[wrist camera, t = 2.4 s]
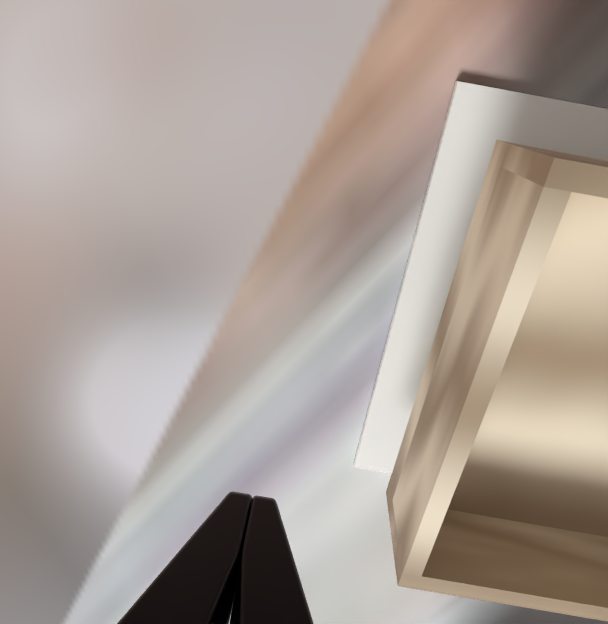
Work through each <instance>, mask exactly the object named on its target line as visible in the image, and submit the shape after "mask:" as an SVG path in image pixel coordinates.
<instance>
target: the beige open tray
mask: <svg viewBox="0 0 608 624" xmlns="http://www.w3.org/2000/svg"><path fill="white" fill-rule="evenodd" d="M386 495H387V503H388V511H389V519H390V527H391V535H392V543H393V551H394V559H395V567H396V575H397V583H398V586H401V587H407V588H413V589H419V590H425V591H430V592H436V593H442V594H448V595H454V596H460V597H466V598H472V599H478V600H484V601H489V602H495V603H501V604H507V605H513V606H519V607H525V608H531V609H537V610H542V611H548V612H554V613H560V614H566V615H572V616H578V617H584V618H590V619H596V620H601V621H607V622H608V160H604V159H598V158H593V157H587V156H582V155H576V154H571V153H565V152H560V151H554V150H549V149H543V148H538V147H533V146H527V145H522V144H516V143H511V142H505V141H500V140H496V143H495V146H494V150H493V153H492V156H491V159H490V162H489V165H488V169H487V172H486V175H485V178H484V181H483V185H482V188H481V191H480V194H479V197H478V201H477V204H476V207H475V210H474V213H473V217H472V220H471V223H470V226H469V229H468V232H467V236H466V239H465V242H464V245H463V248H462V252H461V255H460V258H459V261H458V264H457V268H456V271H455V274H454V277H453V280H452V283H451V287H450V290H449V293H448V296H447V299H446V303H445V306H444V309H443V312H442V315H441V319H440V322H439V325H438V328H437V331H436V334H435V338H434V341H433V344H432V347H431V350H430V354H429V357H428V360H427V363H426V366H425V370H424V373H423V376H422V379H421V382H420V386H419V389H418V392H417V395H416V398H415V401H414V405H413V408H412V411H411V414H410V417H409V421H408V424H407V427H406V430H405V433H404V437H403V440H402V443H401V446H400V449H399V452H398V456H397V459H396V462H395V465H394V468H393V472H392V475H391V478H390V481H389V484H388V488H387V491H386Z"/></svg>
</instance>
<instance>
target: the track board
mask: <svg viewBox="0 0 608 624" xmlns="http://www.w3.org/2000/svg"><path fill="white" fill-rule="evenodd" d="M496 140H500V141H505V142H511V143H516V144H522V145H527V146H533V147H538V148H543V149H549V150H554V151H560V152H565V153H571V154H576V155H582V156H587V157H593V158H598V159H604V160H608V109H606V108H601V107H595V106H590V105H584V104H579V103H573V102H568V101H563V100H557V99H552V98H546V97H541V96H536V95H530V94H525V93H519V92H514V91H508V90H503V89H498V88H492V87H487V86H481V85H476V84H470V83H465V82H460V81H456V82H455V86H454V90H453V93H452V97H451V101H450V105H449V108H448V112H447V116H446V120H445V123H444V127H443V131H442V135H441V138H440V142H439V146H438V149H437V153H436V157H435V161H434V164H433V168H432V172H431V176H430V179H429V183H428V187H427V191H426V194H425V198H424V202H423V205H422V209H421V213H420V217H419V220H418V224H417V228H416V232H415V235H414V239H413V243H412V246H411V250H410V254H409V258H408V261H407V265H406V269H405V273H404V276H403V280H402V284H401V288H400V291H399V295H398V299H397V302H396V306H395V310H394V314H393V317H392V321H391V325H390V329H389V332H388V336H387V340H386V344H385V347H384V351H383V355H382V358H381V362H380V366H379V370H378V373H377V377H376V381H375V385H374V388H373V392H372V396H371V400H370V403H369V407H368V411H367V414H366V418H365V422H364V426H363V429H362V433H361V437H360V441H359V444H358V448H357V452H356V455H355V459H354V467H355V468H361V469H367V470H373V471H378V472H384V473H390V474H392V472H393V468H394V465H395V462H396V459H397V456H398V452H399V449H400V446H401V443H402V440H403V437H404V433H405V430H406V427H407V424H408V421H409V417H410V414H411V411H412V408H413V405H414V401H415V398H416V395H417V392H418V389H419V386H420V382H421V379H422V376H423V373H424V370H425V366H426V363H427V360H428V357H429V354H430V350H431V347H432V344H433V341H434V338H435V334H436V331H437V328H438V325H439V322H440V319H441V315H442V312H443V309H444V306H445V303H446V299H447V296H448V293H449V290H450V287H451V283H452V280H453V277H454V274H455V271H456V268H457V264H458V261H459V258H460V255H461V252H462V248H463V245H464V242H465V239H466V236H467V232H468V229H469V226H470V223H471V220H472V217H473V213H474V210H475V207H476V204H477V201H478V197H479V194H480V191H481V188H482V185H483V181H484V178H485V175H486V172H487V169H488V165H489V162H490V159H491V156H492V153H493V150H494V146H495V143H496Z"/></svg>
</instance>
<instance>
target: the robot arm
mask: <svg viewBox="0 0 608 624" xmlns="http://www.w3.org/2000/svg"><path fill="white" fill-rule="evenodd" d="M231 611H232V612H231ZM230 615H231V618H230ZM229 620H230V624H313V620H312V617H311V614H310V611H309V607H308V604H307V601H306V598H305V594H304V591H303V588H302V584H301V581H300V578H299V575H298V571H297V568H296V565H295V562H294V558H293V555H292V552H291V548H290V545H289V542H288V539H287V535H286V532H285V529H284V526H283V522H282V519H281V516H280V512H279V509H278V506H277V503H276V501H275V500H274V499H273V498H268V497H262V496H254V497H253V499H252V496H251V495H250V494H245V493H239V492H230V493H229V494H228V495H227V496H226V497H225V498H224V499H223V500H222V502H221V503H220V504H219V505H218V506H217V507H216V509H215V510H214V511H213V512H212V513H211V515H210V516H209V517H208V518H207V519H206V520H205V522H204V523H203V524H202V525H201V526H200V527H199V529H198V530H197V531H196V532H195V533H194V534H193V536H192V537H191V538H190V539H189V540H188V541H187V543H186V544H185V545H184V546H183V547H182V548H181V550H180V551H179V552H178V553H177V554H176V555H175V557H174V558H173V559H172V560H171V561H170V563H169V564H168V565H167V566H166V567H165V568H164V570H163V571H162V572H161V573H160V574H159V575H158V577H157V578H156V579H155V580H154V581H153V582H152V584H151V585H150V586H149V587H148V588H147V589H146V591H145V592H144V593H143V594H142V595H141V596H140V598H139V599H138V600H137V601H136V602H135V604H134V605H133V606H132V607H131V608H130V609H129V611H128V612H127V613H126V614H125V615H124V616H123V618H122V619H121V620H120V621H119V622H118V623H117V624H229Z"/></svg>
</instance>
